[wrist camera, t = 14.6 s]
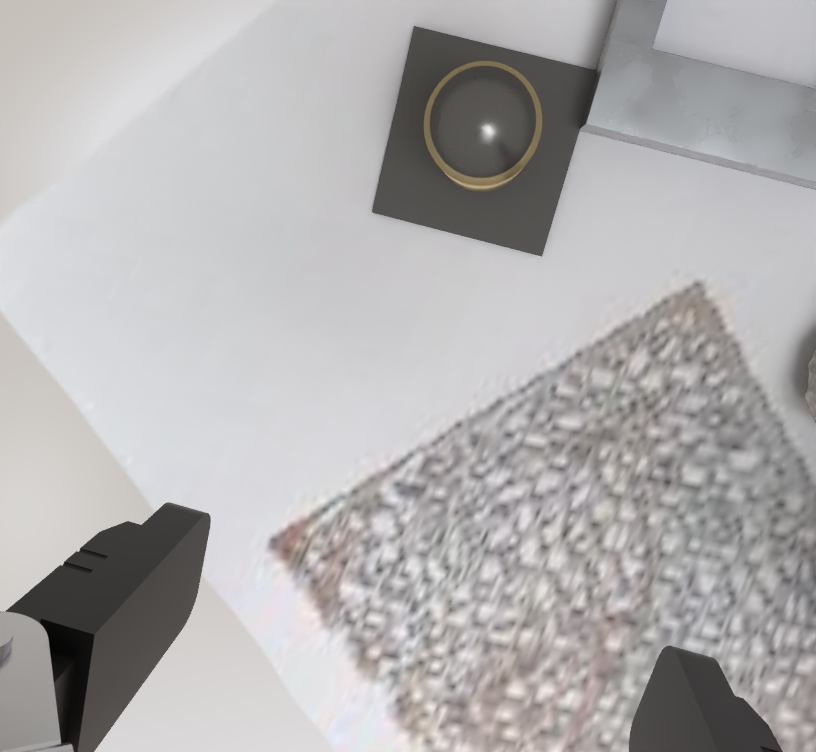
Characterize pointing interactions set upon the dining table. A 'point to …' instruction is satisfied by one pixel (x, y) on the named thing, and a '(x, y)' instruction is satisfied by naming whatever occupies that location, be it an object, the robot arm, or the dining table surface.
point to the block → (698, 104)
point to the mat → (436, 193)
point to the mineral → (812, 387)
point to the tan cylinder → (483, 125)
